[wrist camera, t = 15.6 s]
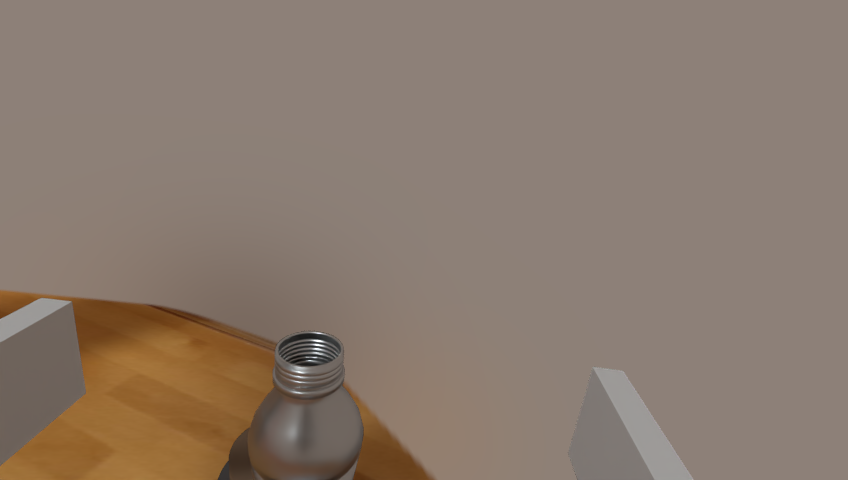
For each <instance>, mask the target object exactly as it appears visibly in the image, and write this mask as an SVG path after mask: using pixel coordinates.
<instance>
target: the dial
mask: <svg viewBox="0 0 848 480" xmlns="http://www.w3.org/2000/svg"><path fill="white" fill-rule="evenodd" d="M249 429H250V428H248V429H247V430H245V431H244V432H243V433H242V434H241V435H240V436H239V437H238V438H237V440H236V441H235V442H234V444H233V446H232V448H231V450H230V454H229V478H230V480H254V478H253V472H252V467H251V462H250V457H249V451H248V432H249Z"/></svg>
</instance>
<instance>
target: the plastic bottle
mask: <svg viewBox="0 0 848 480" xmlns="http://www.w3.org/2000/svg"><path fill="white" fill-rule="evenodd" d="M343 358H344V349H343V345H342V343H341V342H340V340H339V339H337V338H336V337H334V336H332V335H330V334H327V333H324V332H318V331H303V332H297V333H294V334H291V335H288V336H286V337H284V338H283V339H282V340H280V341H279V342H278V344H277V346H276V350H275V366H274V369H273V384H274V386H275V387H274V388H273V389H272V390H271V392H270V393H269V394H268V395H267V396H266V398H265V399H264V400H263V402H262V403H261V404H260V406H259V407H258V409H257V410H256V412H255V414H254V417H253V420H252V423H251V426H250V429H249V432H248V451H249V457H250V462H251V467H252V472H253V478H254V480H353V477H354V473H355V469H356V465H357V462H358V458H359V454H360V451H361V446H362V440H363V424H362V420H361V416H360V412H359V409H358V407H357V405H356V403H355V402H354V400H353V399H352V397H351V396H350V394H349V393H348V392H347V390H346V389H345V388H344V387H343V386H342V384H343V382H344V374H345V369H344V365H343Z"/></svg>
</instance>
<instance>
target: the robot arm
mask: <svg viewBox="0 0 848 480" xmlns="http://www.w3.org/2000/svg"><path fill="white" fill-rule="evenodd" d="M85 393H86V390H85V383H84V377H83V370H82V364H81V357H80V351H79V344H78V338H77V331H76V325H75V318H74V311H73V305H72V302H71V301H63V300H55V299H47V298H40V299H38V300H36V301H34V302H32V303H30V304H29V305H27V306H25V307H23V308H21V309H19V310H17V311H15V312H13V313H11V314H9V315H7V316H5V317H3V318H1V319H0V466H1V465H2V464H3V463H4V462H5V461H6V460H8V459H9V458H10V457H11V456H12V455H14V454H15V453H16V452H17V451H18V450H19V449H21V448H22V447H23V446H24V445H25V444H27V443H28V442H29V441H30V440H31V439H32V438H34V437H35V436H36V435H37V434H38V433H39V432H41V431H42V430H43V429H44V428H45V427H47V426H48V425H49V424H50V423H51V422H52V421H54V420H55V419H56V418H57V417H58V416H59V415H61V414H62V413H63V412H64V411H65V410H67V409H68V408H69V407H70V406H71V405H72V404H74V403H75V402H76V401H77V400H78V399H79V398H81V397H82V396H83V395H84V394H85ZM568 455H569V457H570V460H571V463H572V466H573V469H574V472H575V475H576V477H577V480H693V478H692V477H691V475H690V473H689V472H688V470H687V469H686V467H685V466H684V464H683V463H682V461H681V459H680V458H679V457H678V455H677V453H676V452H675V450H674V449H673V447H672V446H671V444H670V442H669V441H668V439H667V438H666V436H665V435H664V433H663V432H662V430H661V429H660V427H659V426H658V424H657V423H656V421H655V419H654V418H653V416H652V415H651V413H650V412H649V410H648V409H647V407H646V405H645V404H644V403H643V401H642V399H641V398H640V396H639V395H638V393H637V392H636V390H635V389H634V387H633V385H632V384H631V382H630V381H629V379H628V378H627V376H626V375H625V373H624V372H623V371H621V370H613V369H605V368H597V367H593V368H592V371H591V375H590V378H589V382H588V385H587V389H586V392H585V396H584V400H583V403H582V406H581V410H580V413H579V417H578V420H577V424H576V428H575V431H574V434H573V438H572V441H571V445H570V448H569V452H568Z"/></svg>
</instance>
